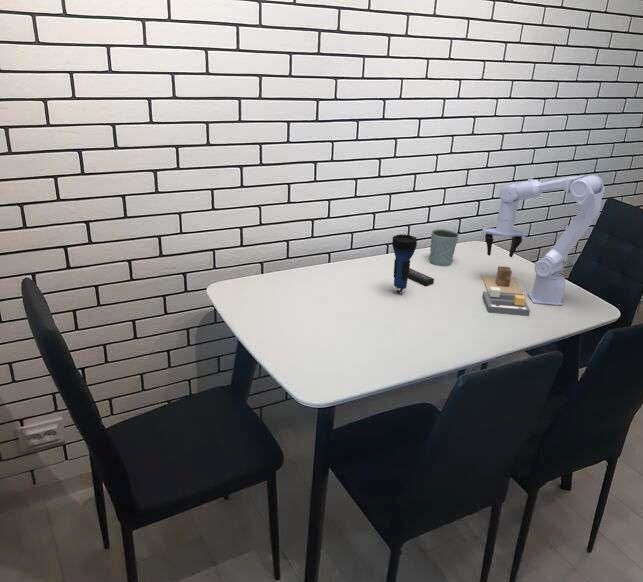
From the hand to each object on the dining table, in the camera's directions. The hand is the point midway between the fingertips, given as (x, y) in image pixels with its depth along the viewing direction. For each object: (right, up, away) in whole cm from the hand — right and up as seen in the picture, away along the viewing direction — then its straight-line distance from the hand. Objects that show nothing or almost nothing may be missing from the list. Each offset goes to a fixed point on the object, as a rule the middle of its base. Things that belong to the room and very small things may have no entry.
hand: (499, 255), depth 205 cm
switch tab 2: (+1, -17, -17) cm, 24 cm away
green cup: (-17, -2, +20) cm, 26 cm away
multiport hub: (-30, -9, +5) cm, 31 cm away
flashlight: (-37, -14, -8) cm, 40 cm away
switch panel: (-3, -18, -14) cm, 23 cm away
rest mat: (+1, -11, +1) cm, 11 cm away
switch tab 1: (-6, -14, -12) cm, 20 cm away
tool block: (+1, -10, +1) cm, 10 cm away
